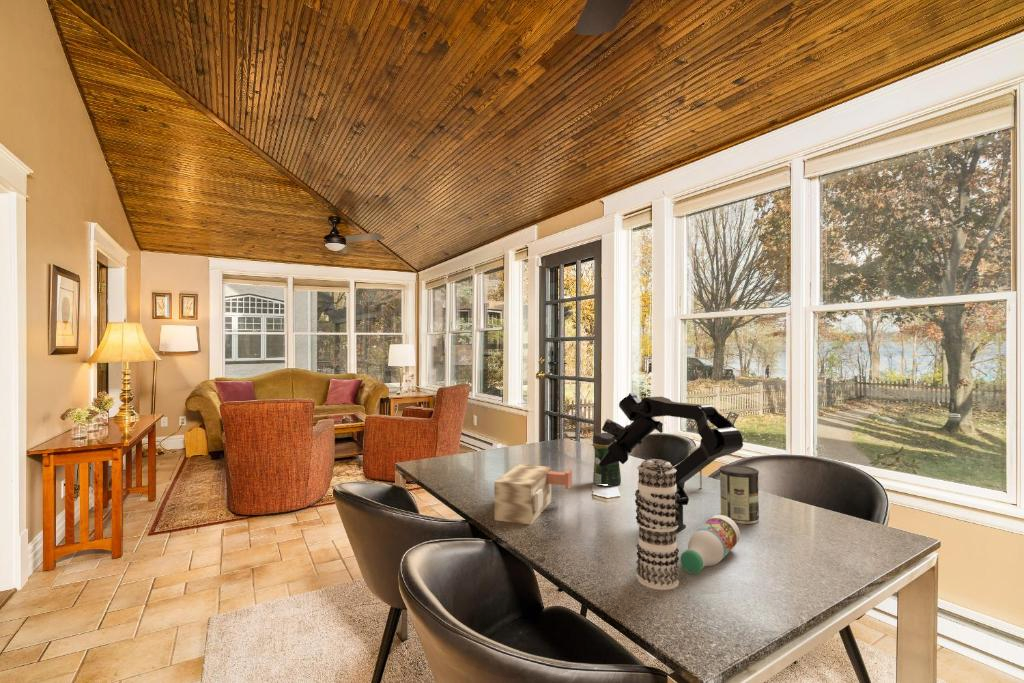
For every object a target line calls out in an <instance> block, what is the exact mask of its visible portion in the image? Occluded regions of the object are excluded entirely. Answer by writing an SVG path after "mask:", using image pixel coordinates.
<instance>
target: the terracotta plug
mask: <svg viewBox="0 0 1024 683" xmlns="http://www.w3.org/2000/svg"><path fill="white" fill-rule="evenodd" d="M572 474H573V470H572V469H568V470H566V471H565V472H564V471H554V470H551V471H548V472H547V484H551V485H555V486H556V485H557V486H564V489H565V490H570V488H571V487H572V485H573V484H572V482H573V481H572V480H573V475H572Z"/></svg>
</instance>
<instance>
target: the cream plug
mask: <svg viewBox="0 0 1024 683" xmlns="http://www.w3.org/2000/svg"><path fill="white" fill-rule="evenodd" d="M542 506H543V489H539V490H538V491H537V492H535V493H534V494H533V507H535V511H539V510H540V509H541V507H542Z"/></svg>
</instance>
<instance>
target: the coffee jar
mask: <svg viewBox="0 0 1024 683" xmlns="http://www.w3.org/2000/svg"><path fill="white" fill-rule="evenodd" d="M612 437H613V435H611V434H609V433H607V432H599V433H594V434H593V437H592V438H593V440H592V445H593V446H592V447H593V449H594V464H593V465H594V466H593V473H592V474H593V478H592V479H593V480H592V482H593V483H594V484H595V485H596V484H608V485H614V486H618V485H620V484H622V478H621V477H622V476H621V469H620V468H621V467H620V461H619V462H615V463H612V464H608V465H605V466H602V467H601V466H600V465H599V463H600V461H601V460H602V459H603V457H604V456H605V455H606V453H607V452H608V448H607V447H608V445H609V443H610V441H612V442H613V441H615V438H614V439H613V438H612Z"/></svg>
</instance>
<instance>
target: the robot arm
mask: <svg viewBox="0 0 1024 683" xmlns="http://www.w3.org/2000/svg"><path fill="white" fill-rule="evenodd" d="M618 407H619V409H620V410H621V411H622V412H623V414H624V416H626V417H627V420H628V421H631V423H630V424H626V425H625V426H622V425H621V424H619V423H618V422H615V421H613V420H611V419H609V418H606V420H605V422H604V424H603V426H602V428H601V431H603V433H609V434H611V435H613V437H612V438H613V439H614V438H615V441H613V442H612V441H610V443H609V445H608V447H607V448H608V452H607V453H606V455H605V456H604V457H603V459H602V460H601V461H600V463H599V465H600V466H601V467H602V466H605V465H608V464H612V463H615V462H619V463H621V464H622V465H624V464H626V462H627V461H629V454H631V453H632V451H633V450H634V449H635V448H636V447H637V446H638V445H641V444H642V443H643V441H644V440H645V439H646V438H647V437H648V436H650V434H652V433H653V432H654V431H655V430H656V431H658V432H659V433H660V434H661V433H663V430H664V428H663V426H664V424H663V422H661V421H660V420H657V419H656V418H658V417H673V418H680V419H687V420H688V419H689V420H694V422H695V423H696V426H697V427H696V428H697V433H698V435H699V436H700V437H701V439H700V443H699V446H700V447H699V448H697V449H696V450H695V451H694V452H692V453H691V454H690V453H689V455H688V456H686V457H685V458H684V459H682V460H681V462H679V463H678V464H676V465H675V466H673V468H675V469H676V470H677V471H676V472H675V473H676V474H675V475H676V485H677V488H678V489H679V490H678V492H677V491H676V493H678V494H679V495H680V498H679V499H677V500H676V499H675V502H676V503H678V504H679V508H677V509H676V510H677V511H678V512H679V513H680V514H679V515H678V516H676V517H675V519H676V520H677V521H678V522H679V524H678V528H677V529H676V534H677V533H678V532H680V531H681V530H683V529H685V528H686V527H687V525H686V524H685V523H684V506H687V505H688V504H689V500H690V498H689V495H687V493H686V491H685V489H684V488H685V483H686V482H687V481H689V480H690V479H691V478H693V477H694V476H695V475H697V474H698V473H700V471H701V470H702V471H703V470H704V469H705V468H706V467H707V466H708V465H710V464H711V463H712V462H714V461H715V460H717V459H718V458H719V459H720V458H723V457H726V456H728V455H731V454H734V453H736V452H739V451H740V450H741V449H742V448H743V447H744V443H743V441H744V438H743V436H742V433H741V432H740V430H738V429H737V428H736V426H735V425H734V424H733V422H732V421H731V420H729V419H728V418H726V417H725V416H724V415H722V414H721V413H719V411H718V410H717V409H716V407H715V406H713V405H711V404H708V403H706V404H697V403H691V402H690V403H688V402H678V401H673V400H670V398H667V397H664V396H646V397H642V399H639V397H638V396H637V394H636V393H635V392H629V394H628V395H627V396H625V397H624V398H622V399H621V400H620V401H619V404H618ZM708 422H709V423H711V424H712V426H714V427H715V428H711V427H710V426H709V425H710V424H708Z"/></svg>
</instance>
